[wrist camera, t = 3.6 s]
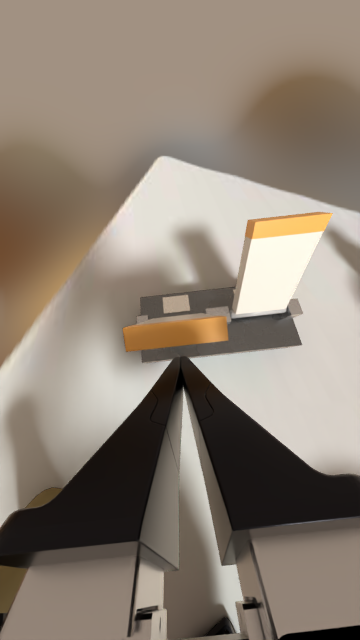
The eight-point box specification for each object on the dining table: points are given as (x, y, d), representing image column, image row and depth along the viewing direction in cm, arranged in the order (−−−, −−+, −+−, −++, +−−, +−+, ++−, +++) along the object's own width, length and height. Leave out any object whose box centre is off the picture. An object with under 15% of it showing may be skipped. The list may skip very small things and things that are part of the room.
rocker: (203, 322, 19) (233, 339, 8) (152, 328, 19) (120, 352, 8) (202, 312, 18) (231, 315, 8) (151, 317, 18) (117, 328, 8)
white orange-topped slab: (285, 315, 18) (336, 212, 11) (232, 321, 18) (251, 222, 11) (278, 308, 19) (321, 211, 12) (228, 314, 19) (244, 220, 12)
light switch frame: (285, 347, 21) (314, 342, 16) (147, 363, 21) (137, 362, 16) (267, 292, 23) (287, 274, 19) (145, 305, 23) (136, 291, 19)
